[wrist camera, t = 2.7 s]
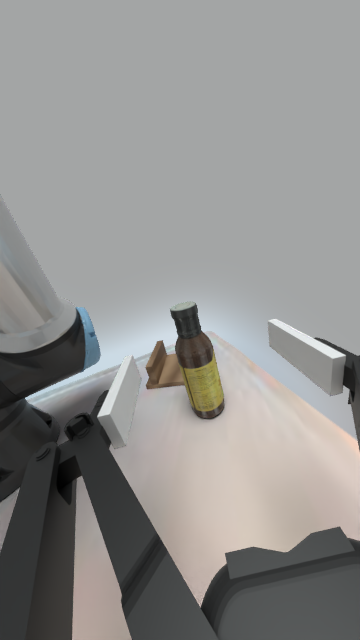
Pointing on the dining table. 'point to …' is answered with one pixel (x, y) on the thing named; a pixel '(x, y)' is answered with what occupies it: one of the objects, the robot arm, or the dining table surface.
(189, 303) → the sauce bottle
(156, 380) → the walnut slotted rack
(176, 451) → the dining table surface
